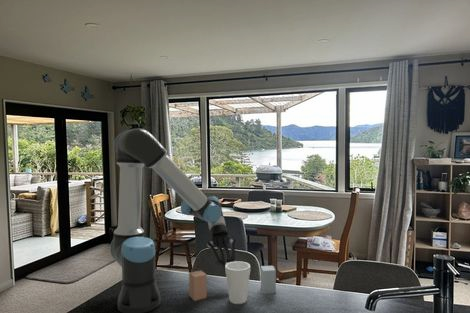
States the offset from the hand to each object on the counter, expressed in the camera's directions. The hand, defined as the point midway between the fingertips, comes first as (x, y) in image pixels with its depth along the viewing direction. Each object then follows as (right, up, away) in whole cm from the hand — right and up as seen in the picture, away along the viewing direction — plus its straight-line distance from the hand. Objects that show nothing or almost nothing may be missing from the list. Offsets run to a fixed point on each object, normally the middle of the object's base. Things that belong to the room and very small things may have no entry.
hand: (230, 279), depth 130 cm
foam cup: (+3, -5, -8) cm, 10 cm away
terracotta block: (-12, -5, -5) cm, 14 cm away
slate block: (+15, -5, 0) cm, 16 cm away
